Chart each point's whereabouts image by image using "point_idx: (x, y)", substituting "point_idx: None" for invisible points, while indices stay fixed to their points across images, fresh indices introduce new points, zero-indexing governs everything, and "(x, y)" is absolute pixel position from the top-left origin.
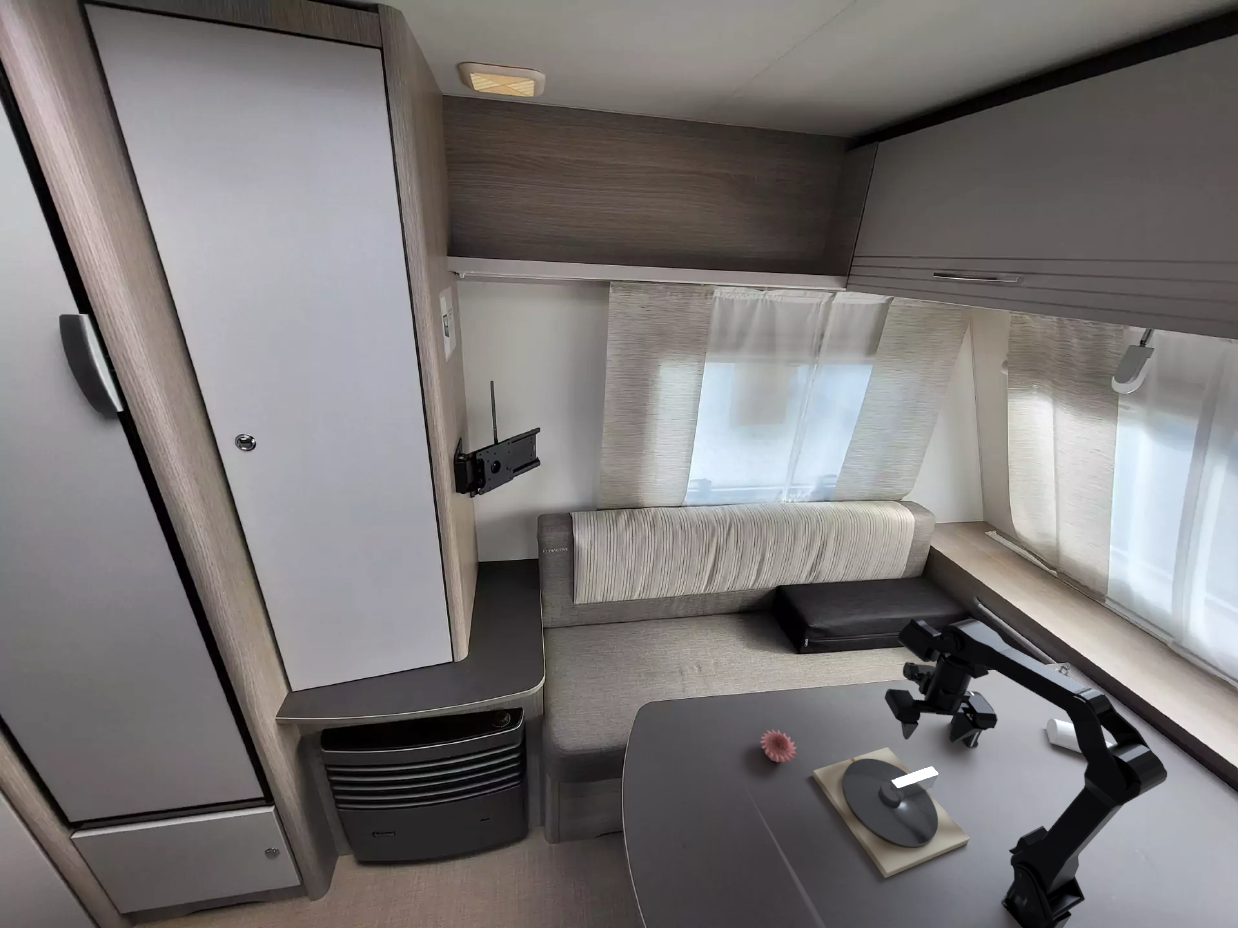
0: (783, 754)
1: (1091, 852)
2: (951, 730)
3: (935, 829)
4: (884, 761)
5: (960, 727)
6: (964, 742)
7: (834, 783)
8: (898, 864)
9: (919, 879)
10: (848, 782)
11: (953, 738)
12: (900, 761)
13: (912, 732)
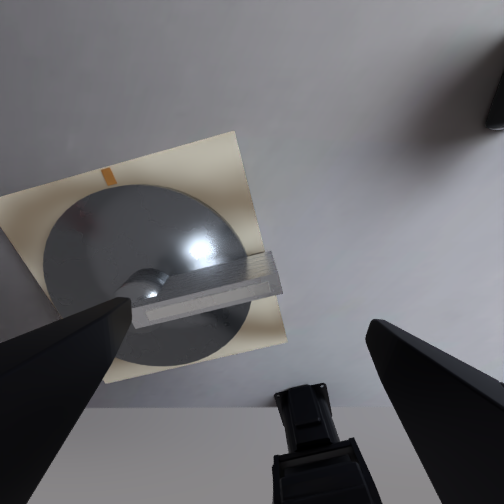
0: None
1: (484, 344)
2: (410, 350)
3: (220, 346)
4: (184, 196)
5: (474, 477)
6: (490, 114)
7: (38, 238)
8: (130, 374)
9: (168, 373)
10: (57, 253)
11: (380, 363)
12: (246, 181)
13: (57, 444)
